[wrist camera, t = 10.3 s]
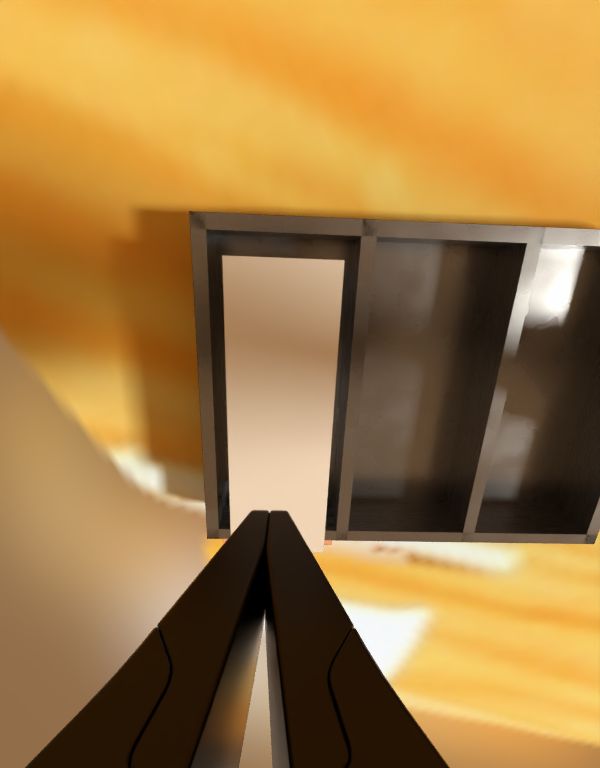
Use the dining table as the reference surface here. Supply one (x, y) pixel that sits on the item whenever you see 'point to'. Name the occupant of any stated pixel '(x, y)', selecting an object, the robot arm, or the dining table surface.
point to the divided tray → (433, 375)
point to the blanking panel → (281, 385)
